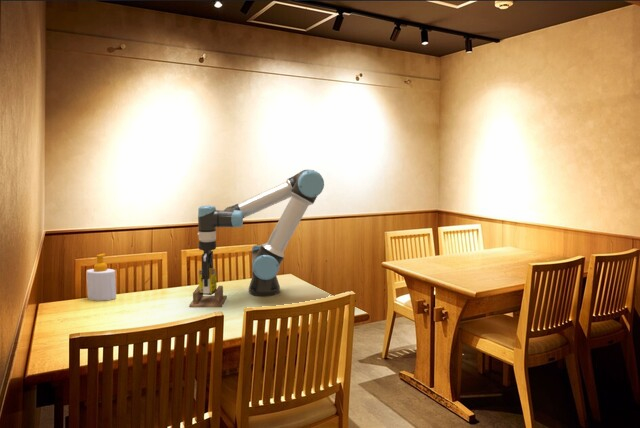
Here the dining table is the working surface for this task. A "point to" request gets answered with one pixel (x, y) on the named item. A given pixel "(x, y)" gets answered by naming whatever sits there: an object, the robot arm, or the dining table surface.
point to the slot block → (208, 299)
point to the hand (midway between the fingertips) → (208, 290)
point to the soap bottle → (101, 281)
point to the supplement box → (212, 281)
